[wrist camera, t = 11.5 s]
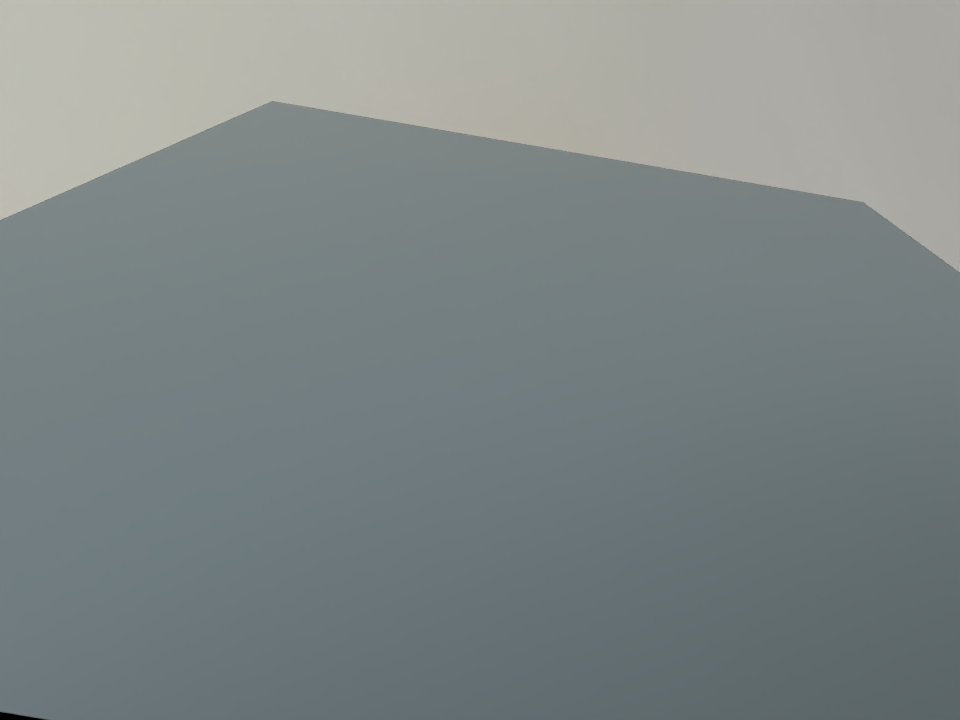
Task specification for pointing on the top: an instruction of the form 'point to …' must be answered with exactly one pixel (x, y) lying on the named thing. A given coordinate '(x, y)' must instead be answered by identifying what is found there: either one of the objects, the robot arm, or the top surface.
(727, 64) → the top surface
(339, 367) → the grey square block
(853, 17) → the top surface
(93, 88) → the top surface
